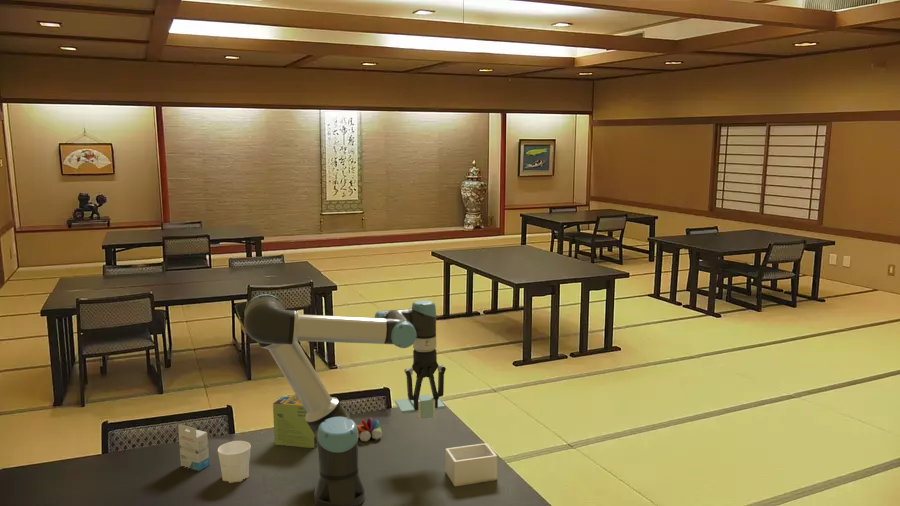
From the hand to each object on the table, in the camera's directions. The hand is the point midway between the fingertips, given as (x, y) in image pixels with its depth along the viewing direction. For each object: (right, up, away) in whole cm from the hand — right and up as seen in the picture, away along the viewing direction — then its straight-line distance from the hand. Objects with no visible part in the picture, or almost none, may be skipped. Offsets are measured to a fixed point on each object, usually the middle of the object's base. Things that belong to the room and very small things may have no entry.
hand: (426, 418), depth 223 cm
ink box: (-77, -17, +4) cm, 79 cm away
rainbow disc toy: (-22, -13, +26) cm, 36 cm away
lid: (-2, +1, +6) cm, 6 cm away
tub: (+15, -17, -4) cm, 23 cm away
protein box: (-46, -14, +23) cm, 53 cm away
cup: (-61, -18, -4) cm, 63 cm away
